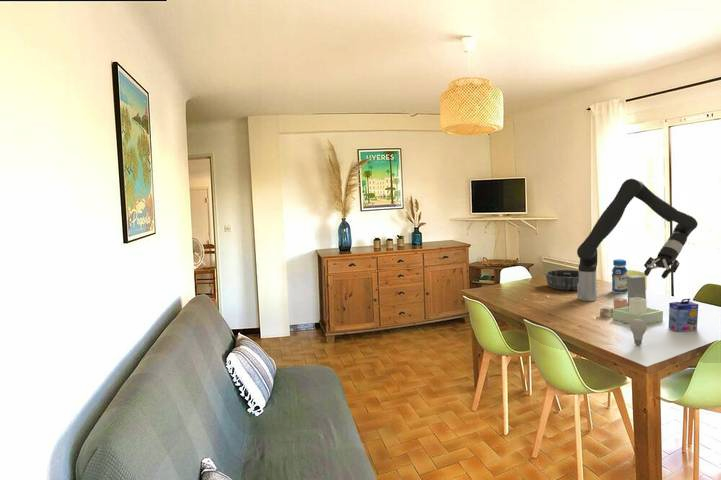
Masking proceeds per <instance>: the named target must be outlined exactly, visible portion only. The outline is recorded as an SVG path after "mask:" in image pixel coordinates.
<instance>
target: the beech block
mask: <svg viewBox="0 0 721 480" xmlns="http://www.w3.org/2000/svg"><path fill="white" fill-rule="evenodd" d="M613 310H614V307H611V306H604V305H603V306H601V307H599V317H601V318H607V319H611V318H613Z"/></svg>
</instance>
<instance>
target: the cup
mask: <svg viewBox="0 0 721 480" xmlns="http://www.w3.org/2000/svg"><path fill="white" fill-rule="evenodd" d="M628 304H629V305H628V307H629V313H631V314H635V315H643V314H646V307H647V298H646V299H643V298H638V297H635V298H629V303H628Z"/></svg>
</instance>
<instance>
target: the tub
mask: <svg viewBox="0 0 721 480" xmlns="http://www.w3.org/2000/svg"><path fill="white" fill-rule="evenodd" d="M634 319H641V320H643V321H644V322H645V323H646V325H651V324H655V323H660V322H663V321H664V312H663V310H661V309H656V308H652V307H647V306H646V314H643V315H635V314H631V313H629V306H627V307H624V308H619V309H614V308H613V317H612V320H613V321H614V320H615V321H618V322H621V323H625V324H628V325H629V324H630V322H631V321H632V320H634Z"/></svg>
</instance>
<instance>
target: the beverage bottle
mask: <svg viewBox="0 0 721 480" xmlns="http://www.w3.org/2000/svg"><path fill="white" fill-rule="evenodd" d="M612 263H613V264H612V265H613V268H612V270H611V272H612V273H611V287H612V288H611V292H612V293H613V294H614V293H615V294H626V293H627V278H626V276H629V275H628V269H627V267H626V266H627V260H626V259H620V258H619V259H614V260H612Z"/></svg>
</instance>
